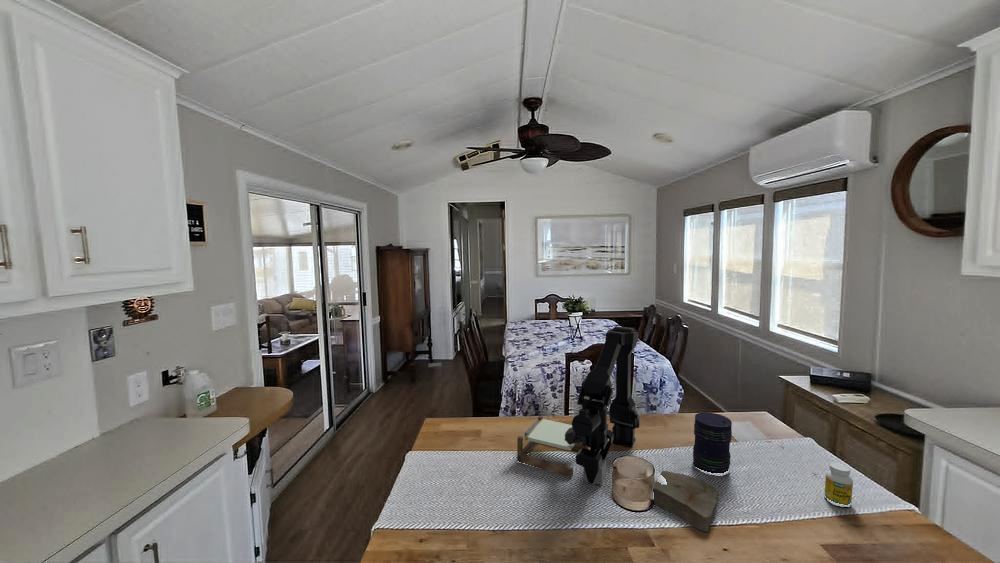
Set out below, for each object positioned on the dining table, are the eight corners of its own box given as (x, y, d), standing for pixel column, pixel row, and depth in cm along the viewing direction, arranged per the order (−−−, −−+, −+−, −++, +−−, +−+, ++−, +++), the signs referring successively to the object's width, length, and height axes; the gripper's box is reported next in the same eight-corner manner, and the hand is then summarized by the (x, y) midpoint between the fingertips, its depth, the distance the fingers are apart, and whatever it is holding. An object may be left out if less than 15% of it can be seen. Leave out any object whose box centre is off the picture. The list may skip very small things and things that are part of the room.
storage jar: (687, 467, 119) (689, 419, 118) (698, 455, 127) (700, 409, 125) (724, 481, 113) (727, 430, 111) (733, 466, 120) (736, 418, 119)
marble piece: (707, 535, 92) (708, 518, 92) (643, 509, 101) (644, 493, 101) (722, 499, 105) (722, 484, 105) (664, 479, 114) (664, 465, 114)
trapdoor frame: (517, 462, 123) (517, 437, 122) (539, 438, 138) (539, 415, 137) (571, 477, 114) (572, 451, 114) (588, 450, 130) (588, 426, 129)
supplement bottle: (844, 497, 105) (847, 463, 104) (855, 510, 100) (858, 474, 99) (820, 494, 107) (822, 459, 106) (829, 506, 102) (832, 470, 101)
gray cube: (605, 476, 115) (606, 460, 115) (601, 486, 111) (601, 469, 110) (588, 472, 117) (589, 456, 117) (583, 481, 113) (584, 464, 113)
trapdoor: (521, 439, 123) (521, 435, 123) (539, 421, 135) (539, 417, 135) (570, 451, 116) (570, 447, 116) (584, 431, 128) (584, 427, 128)
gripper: (578, 405, 124) (577, 453, 126) (557, 429, 108) (556, 484, 110) (614, 412, 119) (613, 462, 121) (598, 439, 103) (597, 496, 104)
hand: (595, 475), depth 114 cm, fingers open, 9 cm apart
